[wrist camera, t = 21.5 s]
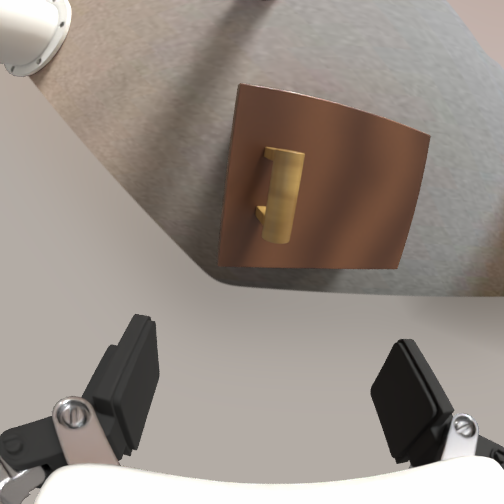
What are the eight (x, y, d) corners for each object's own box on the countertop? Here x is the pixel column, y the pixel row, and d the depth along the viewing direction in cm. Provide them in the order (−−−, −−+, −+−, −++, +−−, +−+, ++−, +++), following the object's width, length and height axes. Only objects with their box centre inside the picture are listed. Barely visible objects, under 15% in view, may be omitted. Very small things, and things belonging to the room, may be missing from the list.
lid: (216, 261, 22) (227, 303, 17) (237, 84, 17) (257, 71, 12) (392, 265, 26) (427, 294, 21) (424, 134, 21) (470, 144, 16)
